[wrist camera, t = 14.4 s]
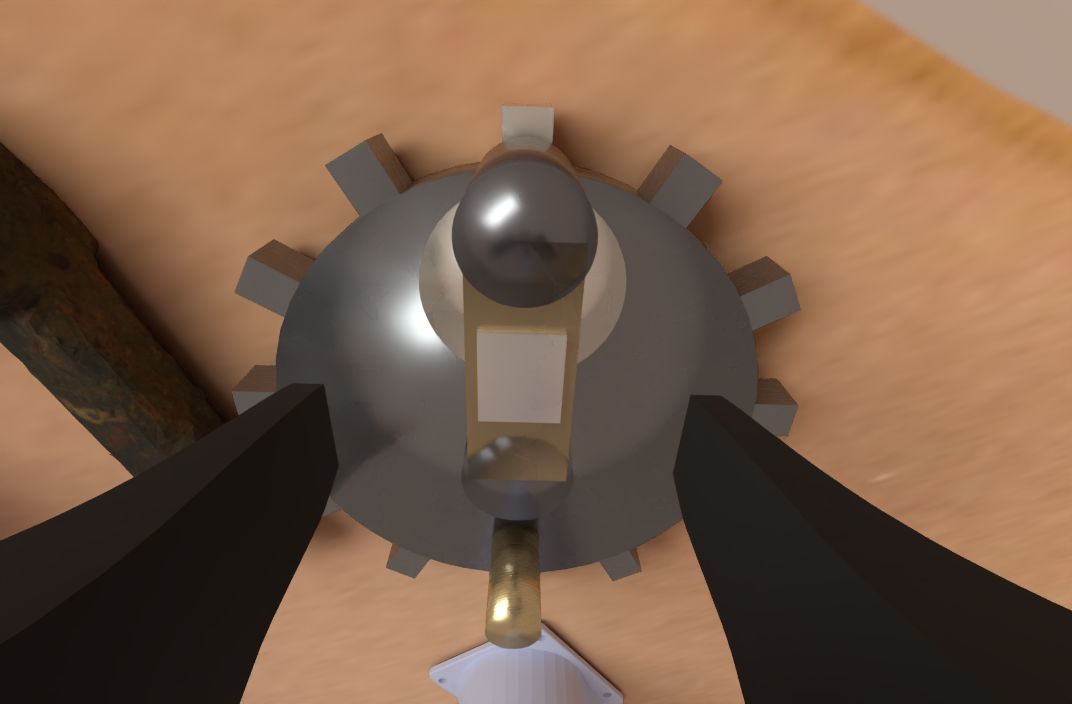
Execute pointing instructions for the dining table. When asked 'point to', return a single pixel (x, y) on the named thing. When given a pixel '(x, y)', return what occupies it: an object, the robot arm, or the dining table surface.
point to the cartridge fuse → (521, 324)
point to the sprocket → (439, 366)
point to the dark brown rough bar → (87, 331)
